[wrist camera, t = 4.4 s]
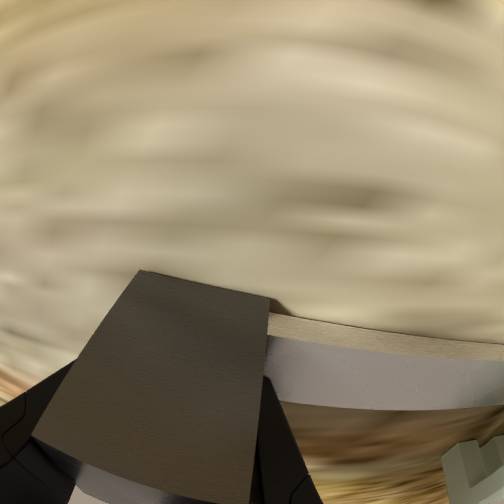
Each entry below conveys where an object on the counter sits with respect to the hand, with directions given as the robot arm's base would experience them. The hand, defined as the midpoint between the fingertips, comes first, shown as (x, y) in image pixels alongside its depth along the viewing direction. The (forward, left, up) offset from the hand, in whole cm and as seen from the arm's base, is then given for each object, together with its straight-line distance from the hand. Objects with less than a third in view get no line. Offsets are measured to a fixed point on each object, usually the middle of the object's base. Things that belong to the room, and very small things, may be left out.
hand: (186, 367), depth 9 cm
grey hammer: (0, -9, -2) cm, 9 cm away
